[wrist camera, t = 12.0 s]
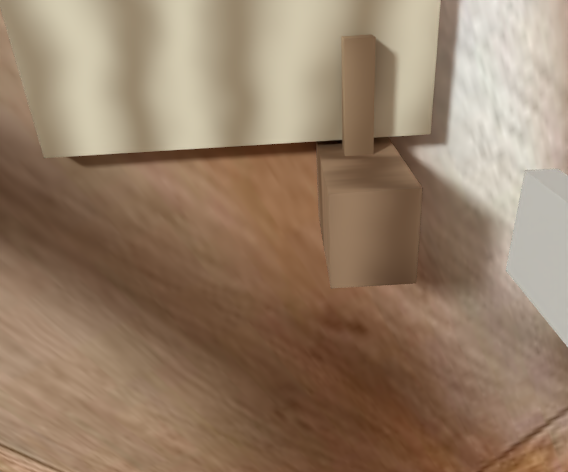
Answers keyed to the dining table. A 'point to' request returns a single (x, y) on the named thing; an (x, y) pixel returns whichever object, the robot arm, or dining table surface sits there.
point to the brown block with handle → (366, 188)
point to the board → (214, 70)
